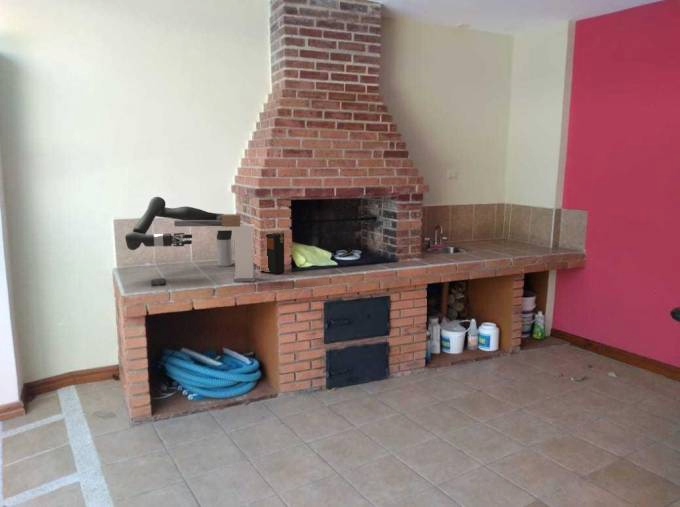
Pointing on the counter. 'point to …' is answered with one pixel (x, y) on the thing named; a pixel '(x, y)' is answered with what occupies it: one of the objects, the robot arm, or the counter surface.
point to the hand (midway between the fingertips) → (192, 239)
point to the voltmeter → (275, 252)
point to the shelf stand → (242, 251)
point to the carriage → (212, 221)
